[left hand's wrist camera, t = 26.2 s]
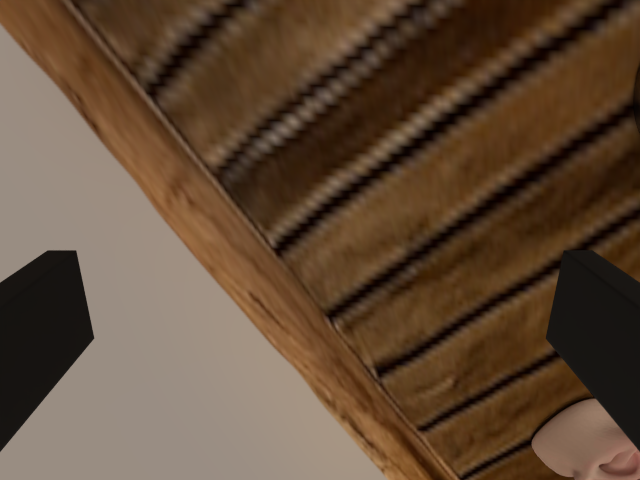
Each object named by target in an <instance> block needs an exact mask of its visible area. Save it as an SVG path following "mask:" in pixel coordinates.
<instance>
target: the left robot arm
mask: <svg viewBox="0 0 640 480" xmlns="http://www.w3.org/2000/svg"><path fill="white" fill-rule="evenodd" d="M634 114H635V120H636V124H637V128H638V131H639V133H640V69H639V72H638V76H637V80H636V85H635V91H634ZM93 339H94V335H93V330H92V325H91V320H90V316H89V311H88V306H87V301H86V296H85V291H84V286H83V281H82V276H81V272H80V267H79V262H78V257H77V252H76V251H46V252H45V253H43V254H42V255H40V256H39V257H37V258H36V259H34V260H33V261H32V262H30V263H29V264H27V265H26V266H24V267H23V268H21V269H20V270H18V271H17V272H15V273H14V274H12V275H11V276H9V277H8V278H6V279H5V280H3V281H2V282H1V283H0V451H1V450H2V449H3V448H4V447H5V445H6V444H7V443H8V442H9V441H10V439H11V438H12V437H13V436H14V435H15V433H16V432H17V431H18V430H19V429H20V427H21V426H22V425H23V424H24V423H25V421H26V420H27V419H28V418H29V416H30V415H31V414H32V413H33V412H34V410H35V409H36V408H37V407H38V406H39V404H40V403H41V402H42V401H43V400H44V398H45V397H46V396H47V395H48V394H49V392H50V391H51V390H52V389H53V388H54V386H55V385H56V384H57V383H58V381H59V380H60V379H61V378H62V377H63V375H64V374H65V373H66V372H67V371H68V369H69V368H70V367H71V366H72V365H73V363H74V362H75V361H76V360H77V358H78V357H79V356H80V355H81V354H82V352H83V351H84V350H85V349H86V348H87V346H88V345H89V344H90V343H91V342H92V340H93ZM546 339H547V340H548V342H549V343H550V344H551V345H552V346H553V348H554V349H555V350H556V351H557V352H558V354H559V355H560V356H561V357H562V359H563V360H564V361H565V362H566V363H567V365H568V366H569V367H570V368H571V369H572V371H573V372H574V373H575V374H576V375H577V377H578V378H579V379H580V380H581V381H582V383H583V384H584V385H585V386H586V388H587V389H588V390H589V391H590V392H591V394H592V395H593V396H594V397H595V398H596V400H597V401H598V402H599V403H600V404H601V406H602V407H603V408H604V409H605V410H606V412H607V413H608V414H609V415H610V416H611V418H612V419H613V420H614V421H615V423H616V424H617V425H618V426H619V427H620V429H621V430H622V431H623V432H624V433H625V435H626V436H627V437H628V438H629V439H630V441H631V442H632V443H633V444H634V445H635V447H636V448H637V449H638V450H639V452H640V283H639V282H638V281H637V280H635V279H634V278H632V277H631V276H629V275H628V274H626V273H625V272H623V271H622V270H620V269H619V268H617V267H616V266H614V265H613V264H611V263H610V262H609V261H607V260H606V259H604V258H603V257H601V256H600V255H598V254H597V253H595V252H594V251H564V252H563V257H562V262H561V267H560V272H559V276H558V281H557V286H556V291H555V296H554V301H553V306H552V311H551V315H550V320H549V325H548V330H547V335H546Z"/></svg>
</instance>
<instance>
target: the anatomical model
mask: <svg viewBox="0 0 640 480" xmlns="http://www.w3.org/2000/svg"><path fill="white" fill-rule="evenodd" d="M532 448H533V450H534V451H535V453H536V454H537V456H538V457H539V458H540V459H541V460H542V461H543V462H544V463H545V464H546V465H547V466H548V467H549V468H551V469H552V470H553V471H555V472H556V473H558V474H560V475H562V476H567V477H574V479H575V480H640V452H639V450H638V449H637V448H636V447H635V445H634V444H633V443H632V442H631V441H630V439H629V438H628V437H627V436H626V435H625V433H624V432H623V431H622V430H621V429H620V427H619V426H618V425H617V424H616V423H615V421H614V420H613V419H612V418H611V416H610V415H609V414H608V413H607V412H606V410H605V409H604V408H603V407H602V406H601V404H600V403H599V402H598V401H597V400H596V399H588V400H584V401H581V402H578V403H576V404H574V405H571V406H570V407H568V408H566V409H565V410H563V411H562V412H560V413H559V414H557V415H556V416H555V417H553V418H552V419H551V420H550V421H549V422H547V423H546V424H545V425H544V426H543V427H542V428H541V429H540V430H539V431H538V432H537V433H536V435H535V436H534V438H533V440H532Z"/></svg>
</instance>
